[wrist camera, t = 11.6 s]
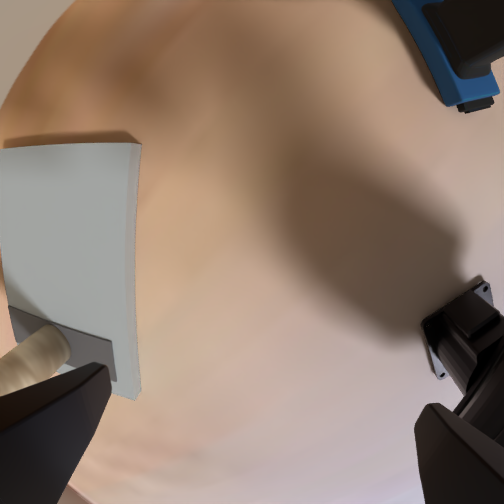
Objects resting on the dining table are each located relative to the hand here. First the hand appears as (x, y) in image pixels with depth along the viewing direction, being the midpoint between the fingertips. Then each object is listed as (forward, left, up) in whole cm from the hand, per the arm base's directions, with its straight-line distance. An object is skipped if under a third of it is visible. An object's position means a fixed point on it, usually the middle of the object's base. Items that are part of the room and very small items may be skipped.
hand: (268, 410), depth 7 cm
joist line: (+3, +20, -11) cm, 23 cm away
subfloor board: (+8, +15, -13) cm, 22 cm away
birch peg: (+3, +20, -11) cm, 23 cm away
